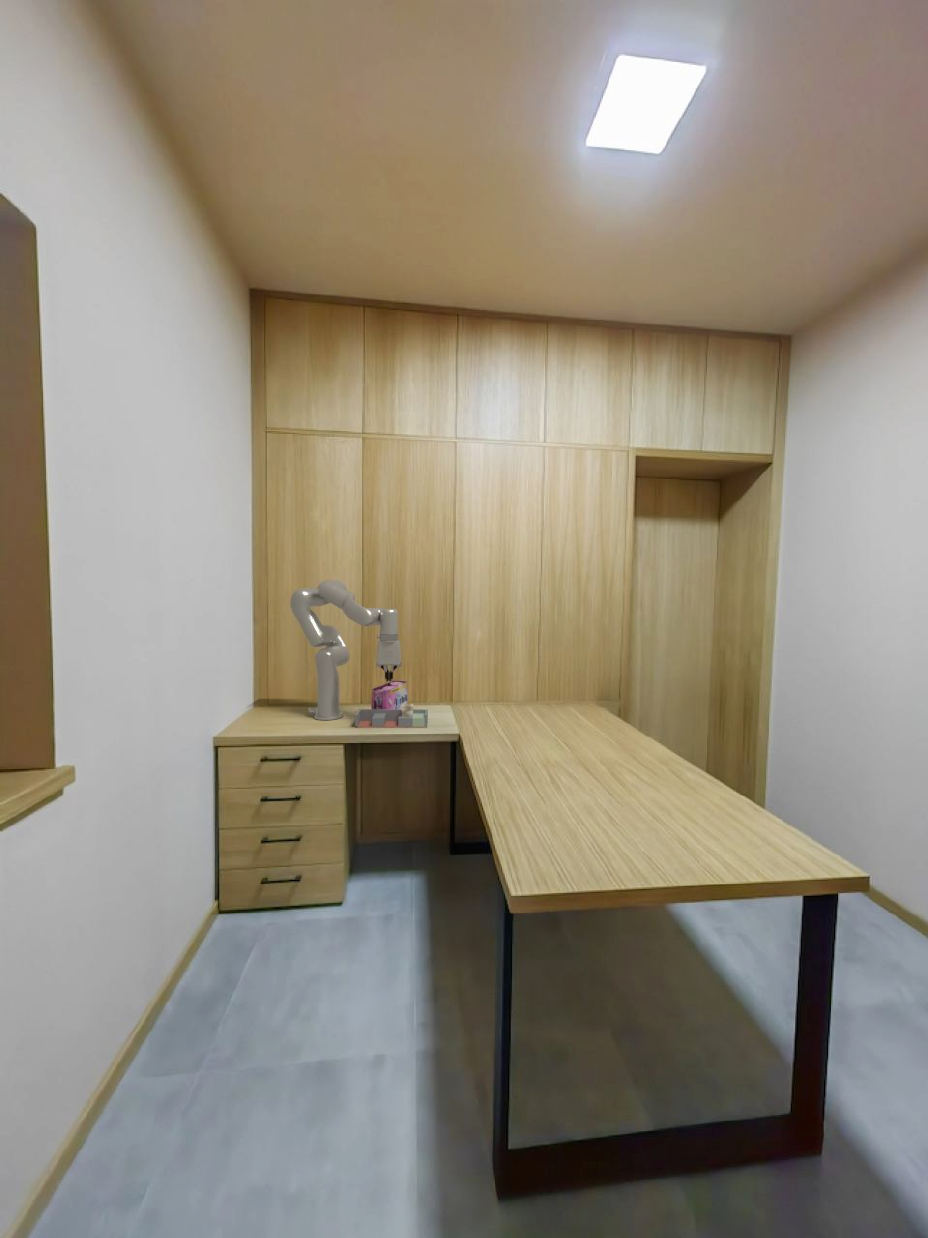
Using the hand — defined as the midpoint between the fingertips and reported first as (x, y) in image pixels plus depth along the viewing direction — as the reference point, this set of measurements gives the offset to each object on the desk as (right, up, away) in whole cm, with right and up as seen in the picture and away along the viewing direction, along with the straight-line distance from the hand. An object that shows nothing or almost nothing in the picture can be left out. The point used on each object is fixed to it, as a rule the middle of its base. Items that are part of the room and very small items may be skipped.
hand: (388, 680), depth 209 cm
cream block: (+8, -15, +1) cm, 17 cm away
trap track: (+1, -19, +1) cm, 19 cm away
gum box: (-2, -18, +19) cm, 27 cm away
